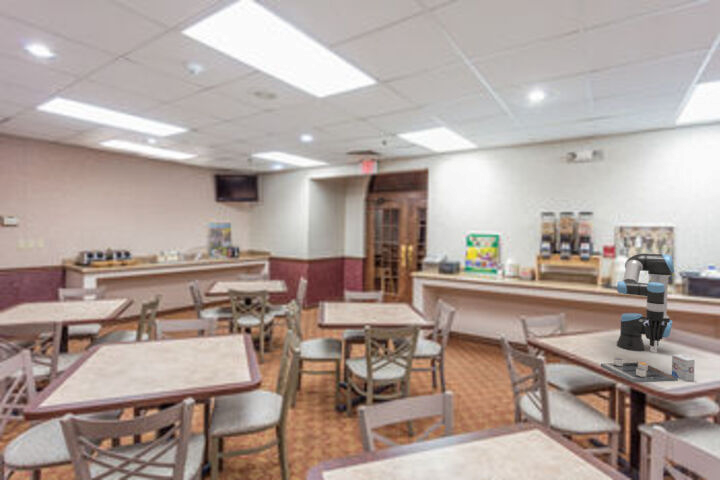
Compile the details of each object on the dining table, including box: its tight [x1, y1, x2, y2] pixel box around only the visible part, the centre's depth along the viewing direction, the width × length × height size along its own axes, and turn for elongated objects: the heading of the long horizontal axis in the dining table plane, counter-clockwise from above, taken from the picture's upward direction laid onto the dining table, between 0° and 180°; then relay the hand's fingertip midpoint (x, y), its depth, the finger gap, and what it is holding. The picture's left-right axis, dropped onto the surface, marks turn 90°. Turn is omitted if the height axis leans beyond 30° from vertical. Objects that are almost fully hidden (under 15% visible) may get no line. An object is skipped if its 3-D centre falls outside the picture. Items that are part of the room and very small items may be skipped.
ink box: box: [671, 353, 695, 382], centre depth 193 cm, size 9×5×12 cm, turn 5°
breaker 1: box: [613, 357, 624, 366], centre depth 206 cm, size 3×3×4 cm
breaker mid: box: [637, 361, 648, 371], centre depth 199 cm, size 3×3×4 cm
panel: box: [600, 362, 679, 383], centre depth 199 cm, size 26×22×2 cm
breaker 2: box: [636, 368, 646, 377], centre depth 191 cm, size 3×3×4 cm
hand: (653, 351), depth 200 cm, fingers closed
